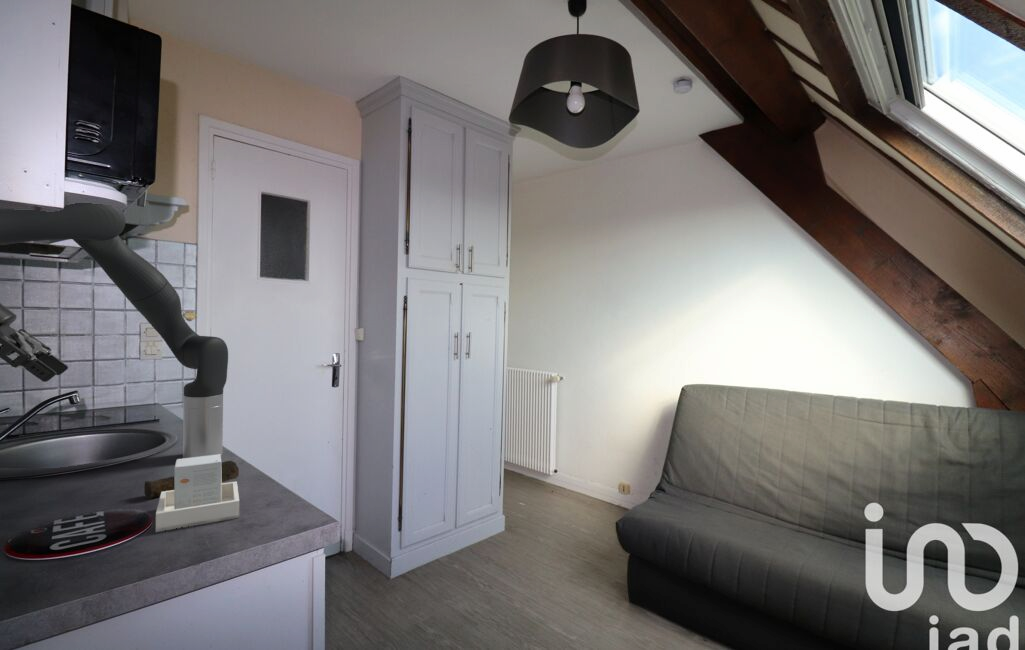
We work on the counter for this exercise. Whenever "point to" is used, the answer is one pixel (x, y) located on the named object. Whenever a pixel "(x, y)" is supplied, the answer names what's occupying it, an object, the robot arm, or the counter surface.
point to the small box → (197, 481)
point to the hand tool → (167, 484)
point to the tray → (197, 510)
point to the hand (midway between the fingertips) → (58, 374)
